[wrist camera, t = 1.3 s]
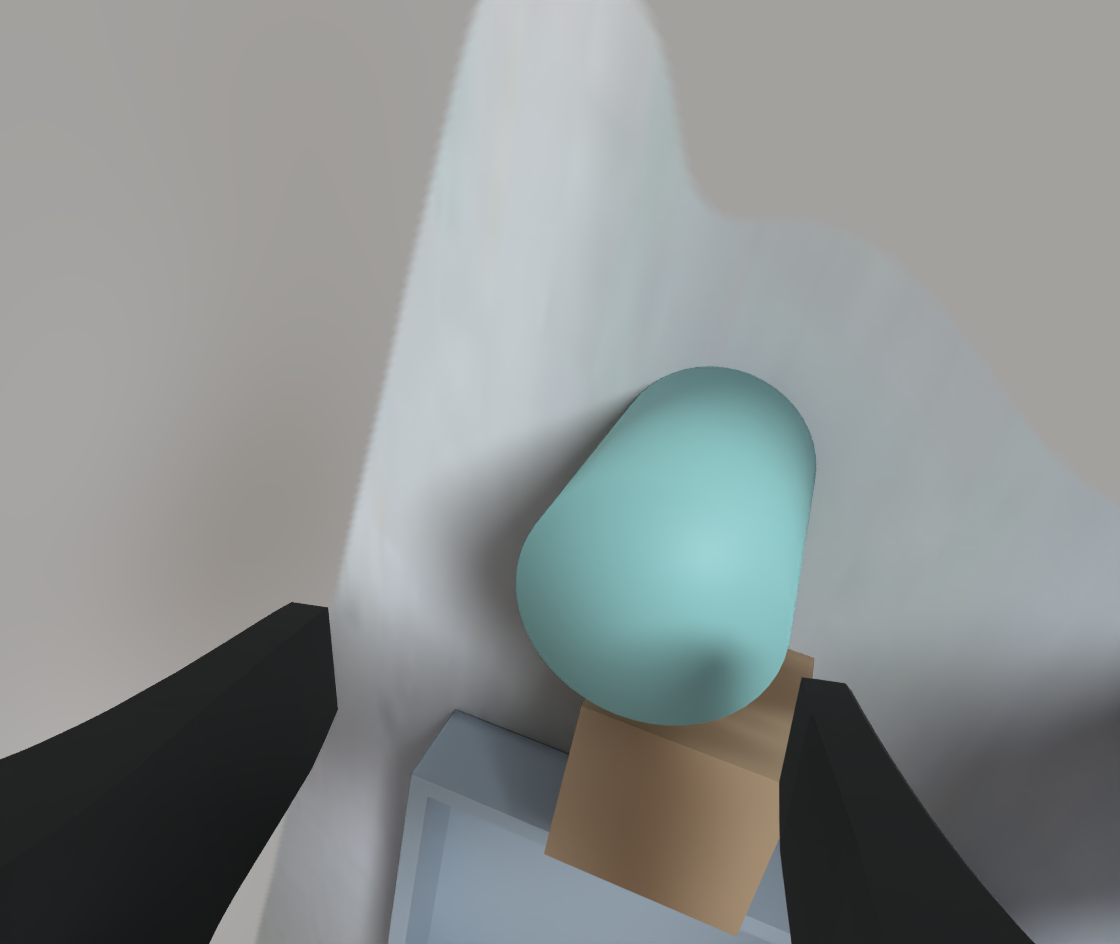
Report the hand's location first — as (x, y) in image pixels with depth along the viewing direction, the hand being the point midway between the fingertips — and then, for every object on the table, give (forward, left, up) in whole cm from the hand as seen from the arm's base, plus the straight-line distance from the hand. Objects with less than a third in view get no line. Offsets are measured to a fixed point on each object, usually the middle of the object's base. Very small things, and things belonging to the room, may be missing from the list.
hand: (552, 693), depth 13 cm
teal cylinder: (-1, 0, -10) cm, 10 cm away
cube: (-2, +7, -10) cm, 12 cm away
